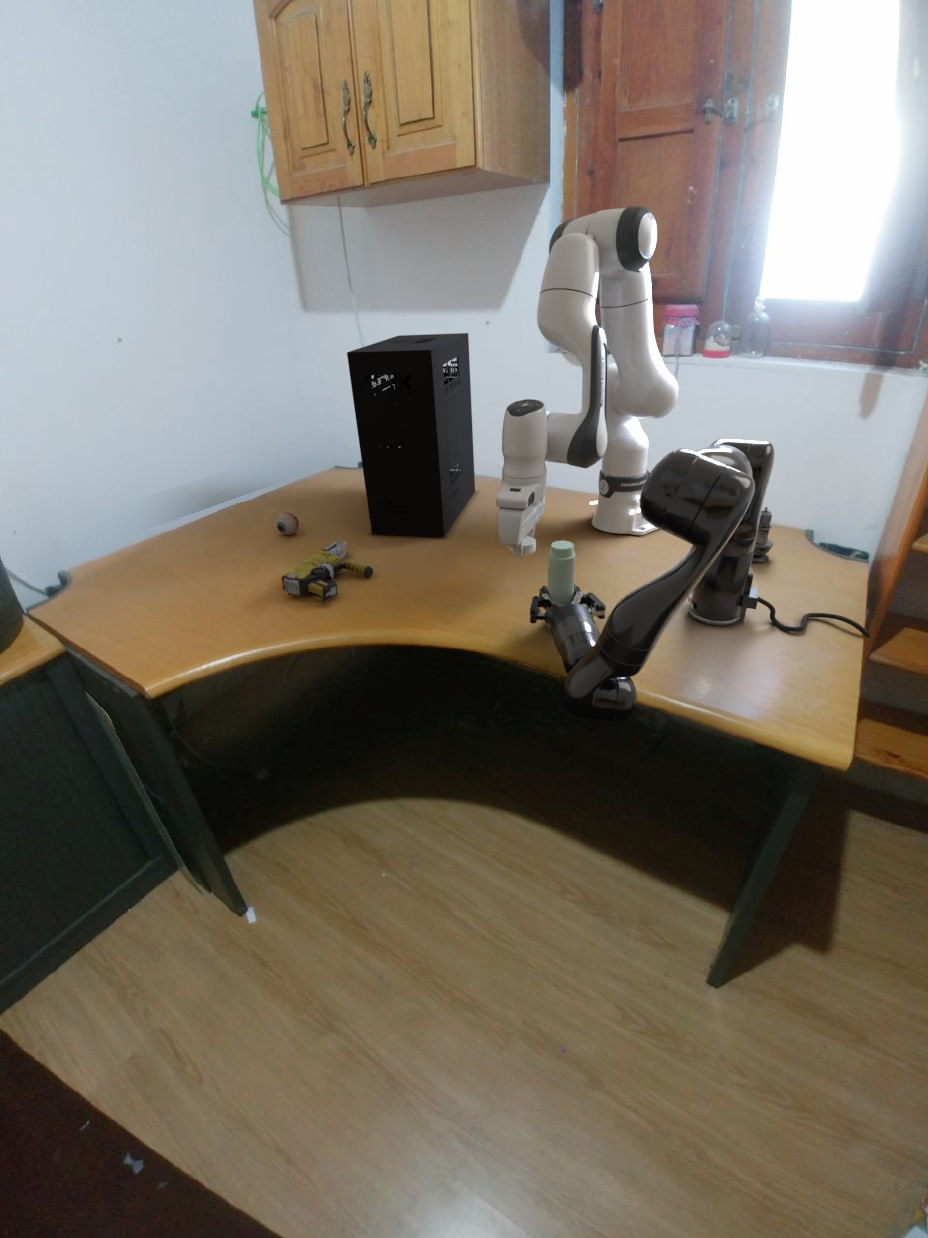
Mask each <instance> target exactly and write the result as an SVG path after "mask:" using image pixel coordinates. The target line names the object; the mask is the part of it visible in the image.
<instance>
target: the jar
mask: <svg viewBox="0 0 928 1238" xmlns="http://www.w3.org/2000/svg"><path fill="white" fill-rule="evenodd" d="M550 549H551V550H549V552H548V558H547V559H548V563H547V564H548V565H547V589H548V592H549V596H550V597H551V598H552V597H554V598H555V599H557V600H558V601H559V602H568V601H573V600H574V584H575V575H576V574H575V573H576V552H575V551H574V549H575V544H574V543H573V542H572V541H569V540H556V541H553V542H552V543H551V544H550ZM546 625H547V627H548V628H549V629H550V627H549V625H548V624H547V623H546Z"/></svg>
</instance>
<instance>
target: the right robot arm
mask: <svg viewBox="0 0 928 1238" xmlns="http://www.w3.org/2000/svg"><path fill="white" fill-rule="evenodd" d="M775 453H776V452H775V447H774V445H773V444H772V442H769V441H765V440H751V439H736V438H719V439H717V440H714V441H712V442H711V444H710V445H709V446H707V447H704V448H702V449H698V450H690V449H688V448H677V449H673V450H671V452H669V453H667V454H666V455H665V456H663V457H662V458H661V459H660V460H659V461H658V462H657V463H656V464H655V466H653V468H652V469H651V471H649V472H650V474H649V475H648V477H647V479H646V481H645V483H644V485H643V488H642V491H641V495H640V511H641V514H642V516H643V518H644V519H645V520H646V521H648V522H649V523H650V524H651V525H653V526H655V527H656V528H658V529H657V530H660V531H663V532H666V533H668V534H669V535H672V536H674V537H675V538H678V539H680V540H682V541H684V542H686V543H688V544H690V545H691V547H690V549H689V551H688V552H687V553H686V555H685V556H684V557H683V558H682V559H681V560H680V561H679V562H678V563H677V564H676V565H674V566H673V567H672V568H671V569H669V570H668V571H666V572H665V573H662V574H661V575H659V576H658V577H656V578H654V579H652V580H650V581H649V582H646V583H644V584H642V585H641V586H638V587H636V588H635V589H633V590H632V591H630V592H629V593H628V594H626V595H625V596H624V597H623V598H621V599H620V600H619V601H618V602H617V603H616V605H615V606H614V607H613V608H612V610H611V612H610V614H609V615H608V617H607V620H606V621H605V623H604V626H603V628H602V630H601V632H600V630H599V628H598V626H597V624H596V621H595V620H594V618H595V617H597V618H598V619H600V620H604V619H605V618H606V610H607V609H606V608H607V605H606V604H605V603H604V602H603V601H602V600H600V599H599V597H598V596H597V595H595V593H594V592H591V591H589V592H587V593H584V592H583V591H582V590H581V588H580V586H578V585H576V584H575V583H574V600H573V601H568V602H559V601H558V600H557V599H555V598H554V597H552V598H551V597H550V596H549V592H548V586H547V585H542V586H541V587H540V588H539V592H538V593H539V594H538V595H539V596H538V595H534V596H532V598H531V603H530V607H529V623H530V624H537V622H538V621H544V622H545V623H546V625H547V624H548V625H549V627H550V628H549V627H548V628H549V630H550V633H551V636H552V639H553V644H554V645H553V646H554V648H555V649H556V651H557V654H558V655H559V657H560V659H561V662H562V665H563V669H564V671H565V673H566V676H565V678H564V680H563V683H562V685H561V689H560V700H561V704H562V707H563V708H564V710H565V711H566V712H567V713H568V714H570V715H571V716H574V717H577V718H584V719H590V720H595V721H601V722H602V721H603V722H608V723H622V722H626V721H627V720H628V719H630V718H631V717H632V716H633V715H634V713H635V711H636V709H637V706H638V692H637V688H636V685H635V683H634V681H633V679H632V677H634V676H637V675H638V674H639V673H641V671H642V670H643V669H644V667H645V665H646V664H647V662H648V660H649V658H650V656H651V655H652V652H653V651H654V649H655V647H656V646H657V644H658V642H659V640H660V638H661V636H662V635H663V633H664V631H665V630H666V628H668V625H669V624H670V622H671V621H672V619H673V618H674V616H675V615H676V614H677V613H678V611H679V610H680V609H681V607H682V606H683V604H684V603H685V602H686V601H688V603H689V607H688V614H689V615H690V616H691V617H692V619H695V620H696V621H698V622H700V623H703V624H707V625H712V626H719V627H722V626H731V625H734V624H736V623H738V622H739V621H744V620H745V618H746V614H747V609H751V610H757V606H758V603H759V604H761V605H763V606H765V607H766V608H768V610H769V619H770V621H771V623H773V625H774V626H776V627H777V628H779V629H780V630H783V631H787V632H794V633H795V632H801V631H804V630H805V628H806V627H807V623H808V619H810V618H822V619H823V618H824V619H830V620H831V619H833V620H837V621H841V622H844V623H846V624H848V625H850V626H852V627H853V628H854V629H856V630H858V631H859V632H860V633H861V635H863V636H864V637H865V638H870V639H871V638H872V635H871V634H870V633H869V631H868V630H867V629H865V627H863V626H862V625H860V623H858V622H856V621H855V620H852V619H851V618H849V617H846V616H842V615H839V614H834V613H828V612H827V613H826V612H808V613H805V614H804V615H803V616H802V618H801V621H800V625H798V626H789V625H785V624H783V623H782V622H780V621H779V620H778V619H777V618H776V608H775V606H774V605H773V604H772V603H770V602H769V601H768V600H765V599H764V598H762V597H760V596H759V587H755V586H752V585H753V581H754V574H753V572H752V571H751V566H752V562H753V561H752V557H753V552H754V547H755V542H756V537H757V532H758V527H759V521H760V516H761V511H762V510H763V506H764V501H765V497H766V494H767V490H768V487H769V483H770V480H771V476H772V472H773V467H774V463H775ZM690 595H691V596H690ZM541 608H542V609H543V610H544V611H545V612H543V611H542V610H541ZM548 625H547V626H548Z"/></svg>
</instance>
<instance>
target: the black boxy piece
mask: <svg viewBox="0 0 928 1238" xmlns="http://www.w3.org/2000/svg"><path fill="white" fill-rule="evenodd" d="M469 341H470V340H469V332H462V333H461V332H460V333H459V332H458V333H457V332H455V333H434V334H433V333H432V334H407V335H406V334H405V335H404V334H403V335H396V336H393V337H390V338H387V339H384V340H380V341H377V342H374V343H371V344H368V345H365V346H362V347H358V348H356V349H353V350H350V351H347V352H346V356H347V364H348V371H349V379H350V384H351V394H352V401H353V407H354V414H355V415H354V416H355V421H356V429H357V437H358V444H359V453H360V459H361V466H362V474H363V481H364V488H365V495H366V503H367V509H368V510H367V511H368V517H369V525H370V532H371V535H379V536H403V537H404V536H405V537H428V538H429V537H430V538H431V537H432V538H446V536H447V534H448V533H449V531H450V530H451V528H452V527H453V525H454V524H455V523H456V521H457V520H458V518H459V517H460V515H461V513H462V512H463V510H464V509H465V507H466V506H467V504H468V503H469V501H470V500H471V499H472V497H473V495H474V494H475V492H476V482H475V480H476V477H475V459H474V457H475V455H474V432H473V412H472V410H473V409H472V388H471V387H472V386H471V367H470V366H471V365H470V364H471V363H470V344H469V343H470V342H469ZM449 363H450V364H449Z"/></svg>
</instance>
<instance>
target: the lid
mask: <svg viewBox="0 0 928 1238" xmlns="http://www.w3.org/2000/svg"><path fill="white" fill-rule="evenodd" d="M522 546H523V548H524V554H523V556H524V555H531V554H533V553H535V552H536V549H537V539H535V538H534V537H533V538H532V537H529V536H526V537H525V538H524V539H523V543H522ZM509 549H510V551H511V552H512V553H513V554H514V549H513V547H510V548H509Z"/></svg>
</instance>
